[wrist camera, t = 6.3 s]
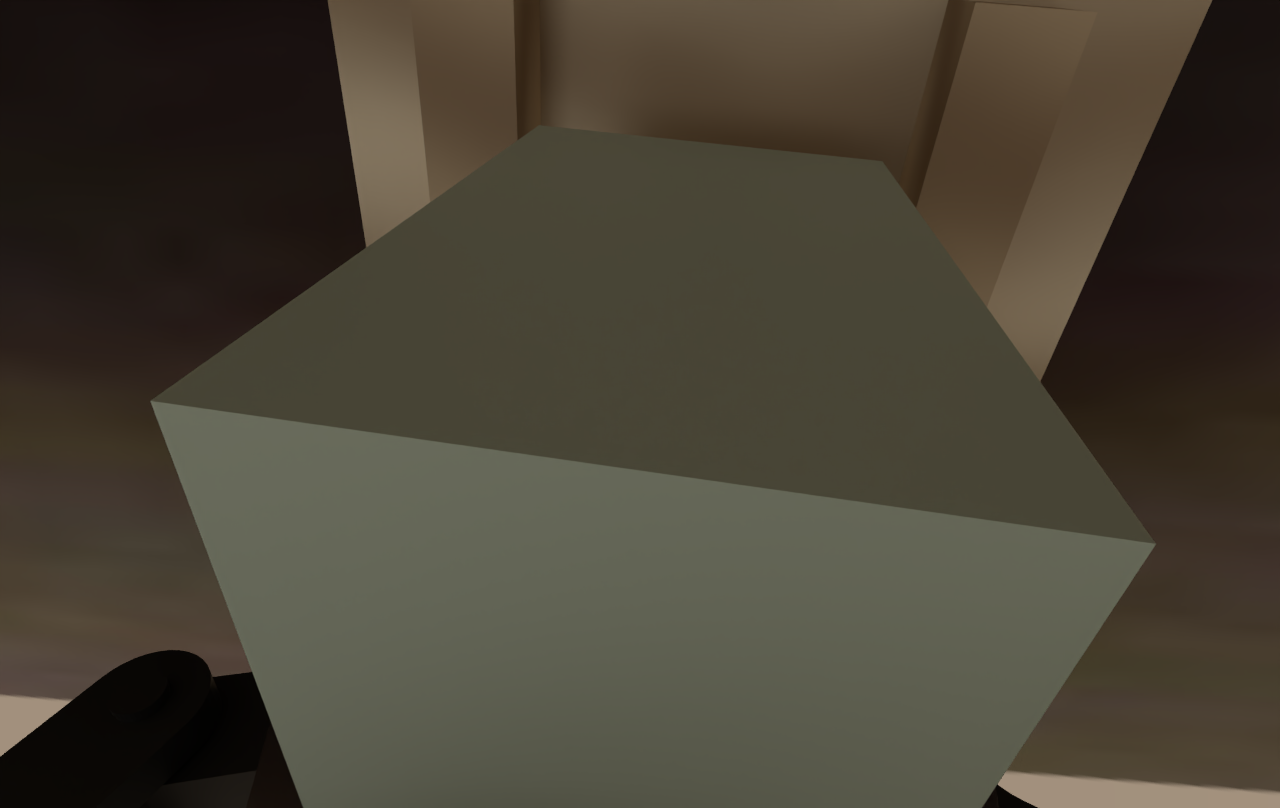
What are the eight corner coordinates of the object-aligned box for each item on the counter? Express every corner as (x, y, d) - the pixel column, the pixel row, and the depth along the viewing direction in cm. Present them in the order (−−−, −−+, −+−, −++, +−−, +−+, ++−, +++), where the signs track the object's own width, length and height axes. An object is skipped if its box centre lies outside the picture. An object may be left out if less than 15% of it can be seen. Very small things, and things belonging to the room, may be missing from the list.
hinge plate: (329, -236, 11) (-46, -422, 6) (1246, -182, 10) (1792, -352, 5) (441, 604, 22) (345, 800, 17) (885, 673, 21) (930, 907, 16)
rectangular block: (539, 124, 9) (149, 399, 3) (974, 170, 9) (1454, 587, 3) (543, 682, 16) (418, 1112, 10) (791, 724, 15) (819, 1200, 9)
